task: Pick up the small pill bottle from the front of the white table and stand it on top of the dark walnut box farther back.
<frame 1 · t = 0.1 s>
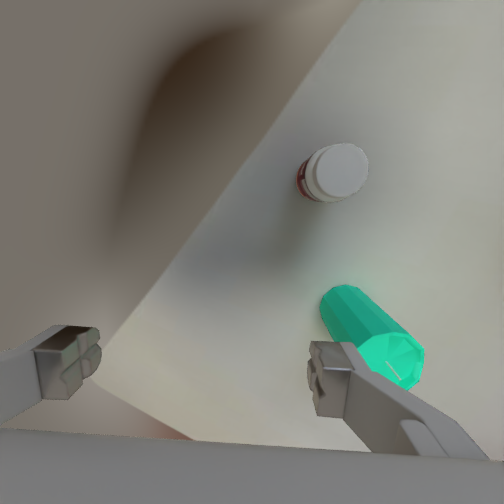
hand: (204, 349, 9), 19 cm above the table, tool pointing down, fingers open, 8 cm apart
pill bottle: (316, 179, 26), on the table
candle: (343, 306, 30), on the table
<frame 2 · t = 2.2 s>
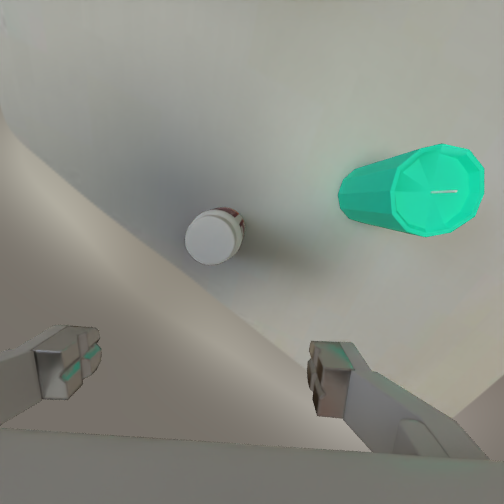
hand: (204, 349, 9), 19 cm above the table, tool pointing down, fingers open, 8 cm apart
pill bottle: (224, 228, 27), on the table
candle: (365, 194, 26), on the table
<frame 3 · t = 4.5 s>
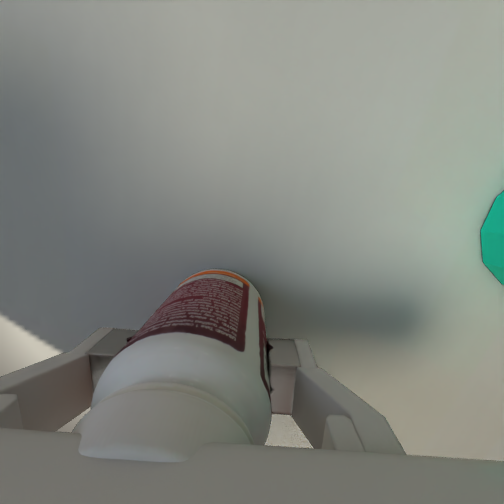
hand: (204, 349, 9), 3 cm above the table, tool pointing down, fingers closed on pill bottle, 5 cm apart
pill bottle: (218, 309, 12), on the table, touching gripper
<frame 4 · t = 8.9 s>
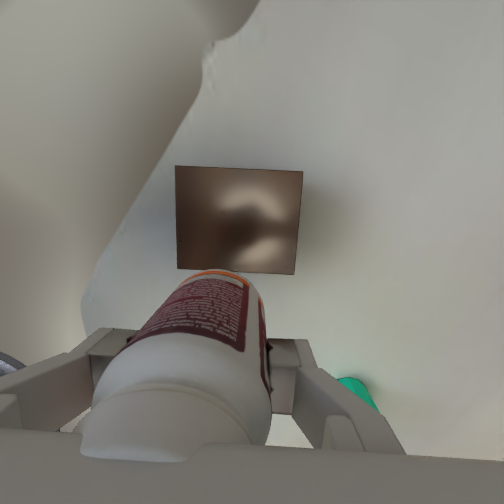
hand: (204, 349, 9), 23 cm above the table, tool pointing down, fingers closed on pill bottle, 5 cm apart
pill bottle: (219, 310, 12), point 20 cm above the table, touching gripper
walnut box: (241, 217, 31), on the table
candle: (346, 393, 36), on the table
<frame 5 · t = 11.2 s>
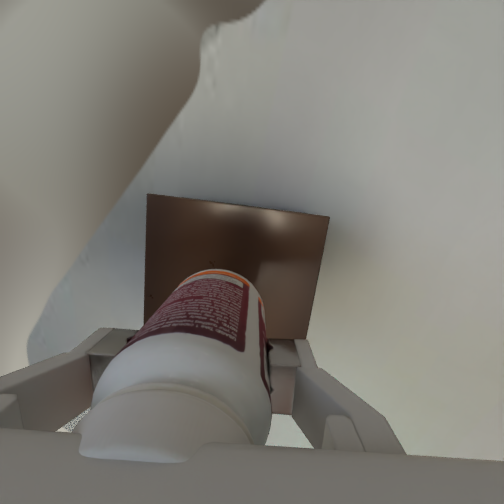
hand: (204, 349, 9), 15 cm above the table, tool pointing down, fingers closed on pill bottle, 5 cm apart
pill bottle: (219, 309, 12), point 12 cm above the table, touching gripper
walnut box: (238, 255, 24), on the table
when the fingers open (10 cm above the table, at t = 13.1 s): pill bottle stays where it is, resting on walnut box.
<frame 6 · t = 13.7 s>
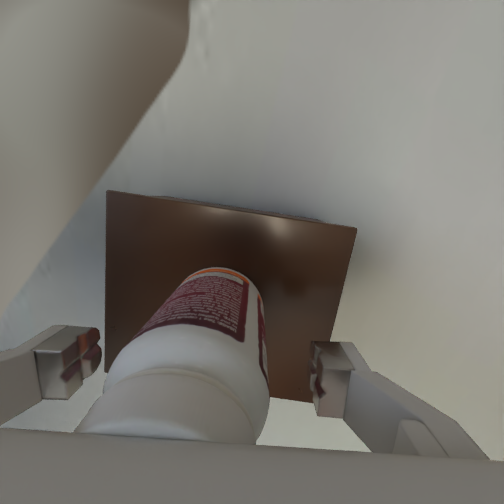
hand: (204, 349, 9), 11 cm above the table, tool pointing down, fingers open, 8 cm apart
pill bottle: (220, 306, 13), point 7 cm above the table, touching walnut box
walnut box: (233, 268, 20), on the table
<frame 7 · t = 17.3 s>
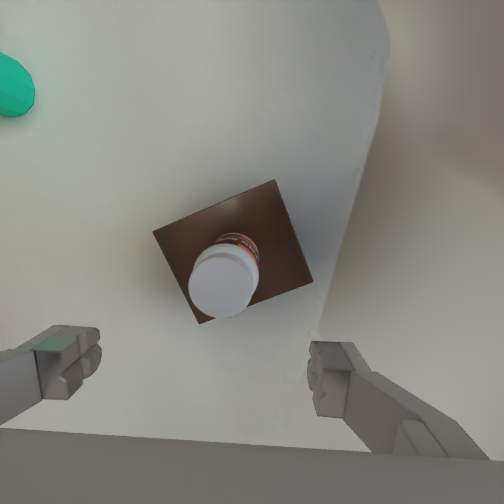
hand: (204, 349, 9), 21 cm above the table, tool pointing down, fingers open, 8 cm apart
pill bottle: (234, 255, 23), point 7 cm above the table, touching walnut box
walnut box: (239, 243, 30), on the table
candle: (9, 88, 27), on the table
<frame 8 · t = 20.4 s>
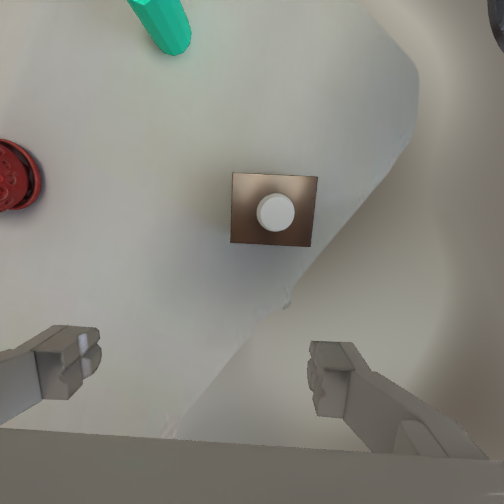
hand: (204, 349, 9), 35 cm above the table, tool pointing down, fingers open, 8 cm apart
pill bottle: (272, 210, 36), point 7 cm above the table, touching walnut box
flower pot: (15, 178, 43), on the table
walnut box: (270, 208, 42), on the table
candle: (172, 34, 37), on the table
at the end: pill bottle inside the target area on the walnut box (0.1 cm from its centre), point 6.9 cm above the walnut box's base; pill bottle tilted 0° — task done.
